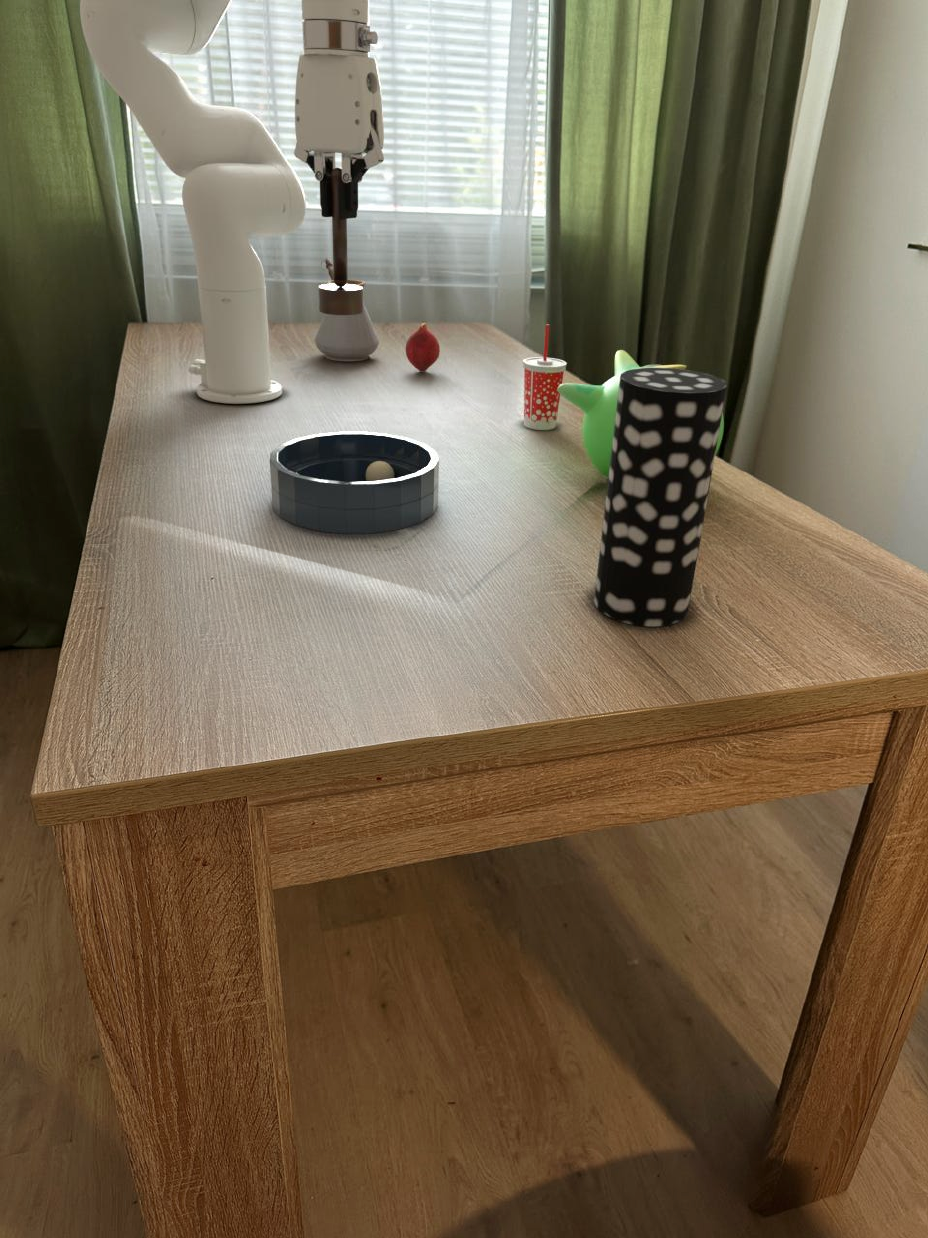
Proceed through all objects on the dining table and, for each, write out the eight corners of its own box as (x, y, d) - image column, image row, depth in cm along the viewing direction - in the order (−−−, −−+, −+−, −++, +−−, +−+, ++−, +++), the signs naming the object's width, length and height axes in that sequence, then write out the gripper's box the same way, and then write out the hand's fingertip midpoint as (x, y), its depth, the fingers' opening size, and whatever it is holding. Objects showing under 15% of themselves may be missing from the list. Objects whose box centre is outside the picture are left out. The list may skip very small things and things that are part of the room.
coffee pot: (386, 362, 163) (386, 273, 156) (322, 365, 160) (319, 273, 153) (357, 338, 181) (356, 257, 174) (299, 340, 177) (295, 257, 170)
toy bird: (681, 520, 101) (702, 386, 94) (544, 487, 108) (555, 361, 102) (731, 477, 114) (753, 357, 108) (607, 451, 122) (620, 337, 115)
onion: (434, 376, 156) (435, 327, 152) (401, 373, 157) (402, 325, 153) (442, 369, 161) (443, 321, 157) (410, 366, 162) (410, 319, 158)
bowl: (238, 518, 96) (234, 463, 94) (334, 472, 110) (332, 423, 108) (382, 554, 90) (382, 496, 87) (464, 500, 104) (466, 449, 101)
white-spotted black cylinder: (585, 584, 85) (609, 366, 76) (672, 584, 86) (707, 368, 77) (605, 627, 78) (634, 391, 69) (700, 626, 79) (742, 393, 70)
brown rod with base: (310, 311, 118) (305, 165, 110) (335, 305, 123) (332, 165, 115) (347, 316, 116) (345, 168, 108) (371, 310, 120) (370, 168, 113)
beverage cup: (569, 426, 132) (579, 325, 126) (543, 434, 128) (551, 330, 122) (536, 416, 136) (544, 318, 129) (509, 424, 132) (516, 323, 125)
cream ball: (360, 490, 103) (359, 462, 101) (375, 482, 106) (375, 455, 104) (384, 495, 102) (384, 468, 100) (399, 487, 104) (399, 460, 103)
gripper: (412, 46, 105) (409, 220, 114) (298, 44, 111) (304, 210, 120) (378, 39, 99) (378, 224, 108) (259, 38, 105) (269, 213, 114)
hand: (339, 215), depth 114 cm, fingers closed on brown rod with base
